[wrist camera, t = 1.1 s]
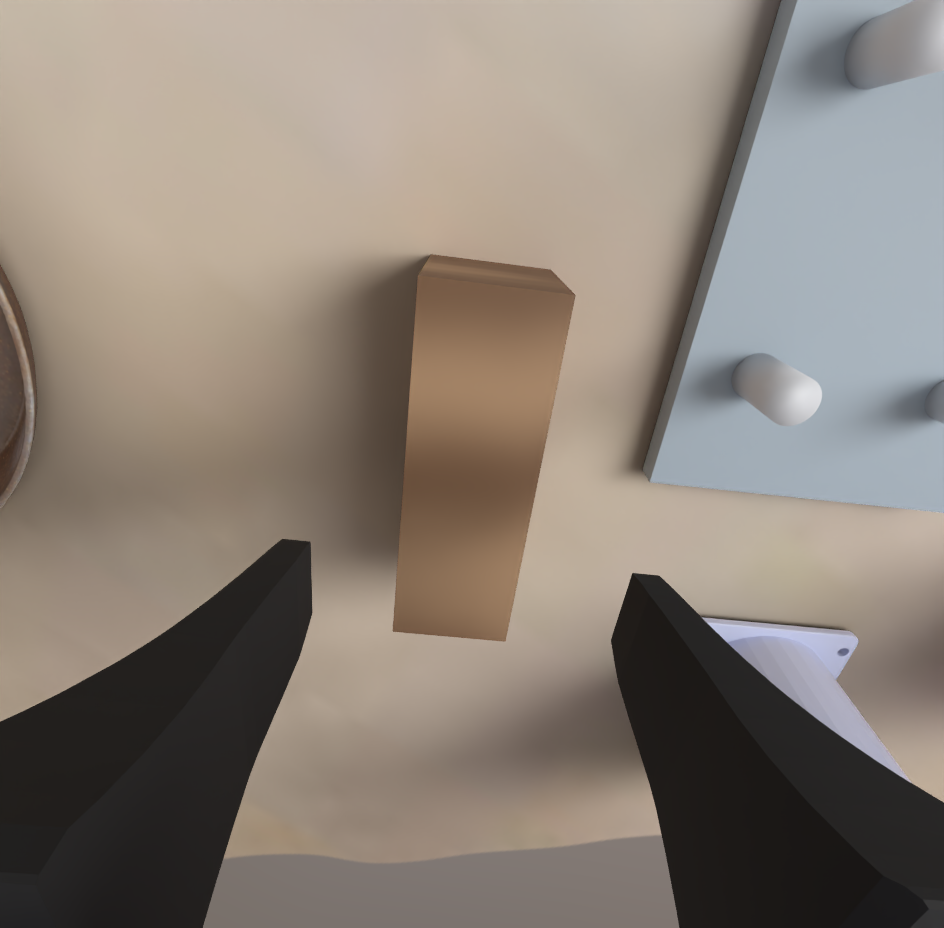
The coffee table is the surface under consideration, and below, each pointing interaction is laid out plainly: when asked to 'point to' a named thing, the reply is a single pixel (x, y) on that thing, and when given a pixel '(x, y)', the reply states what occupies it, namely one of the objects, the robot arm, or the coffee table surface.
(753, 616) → the coffee table surface
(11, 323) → the plant saucer
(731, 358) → the peg board
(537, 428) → the walnut bar
